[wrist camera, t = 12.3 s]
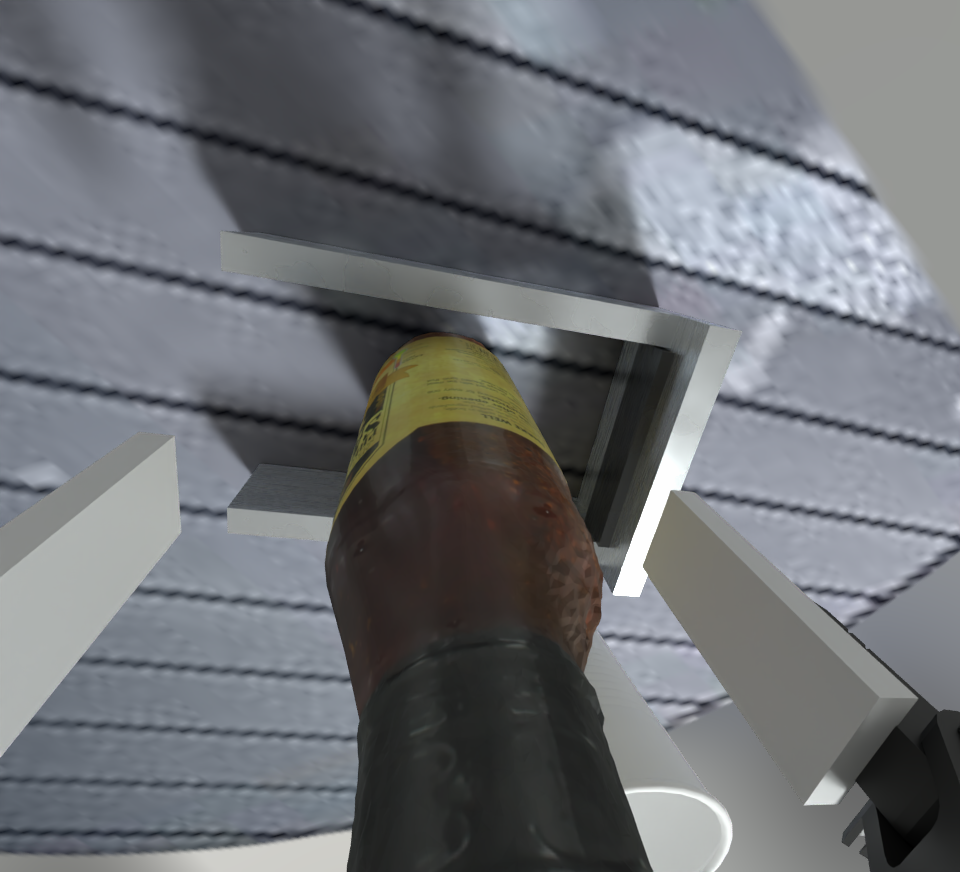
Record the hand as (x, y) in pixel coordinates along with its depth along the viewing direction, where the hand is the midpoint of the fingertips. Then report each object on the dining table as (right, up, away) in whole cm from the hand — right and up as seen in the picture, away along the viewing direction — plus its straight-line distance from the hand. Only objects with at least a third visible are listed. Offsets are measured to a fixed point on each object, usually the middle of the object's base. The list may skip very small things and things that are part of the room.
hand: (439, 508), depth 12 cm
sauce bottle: (-1, +4, +9) cm, 10 cm away
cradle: (-1, +4, +9) cm, 10 cm away
